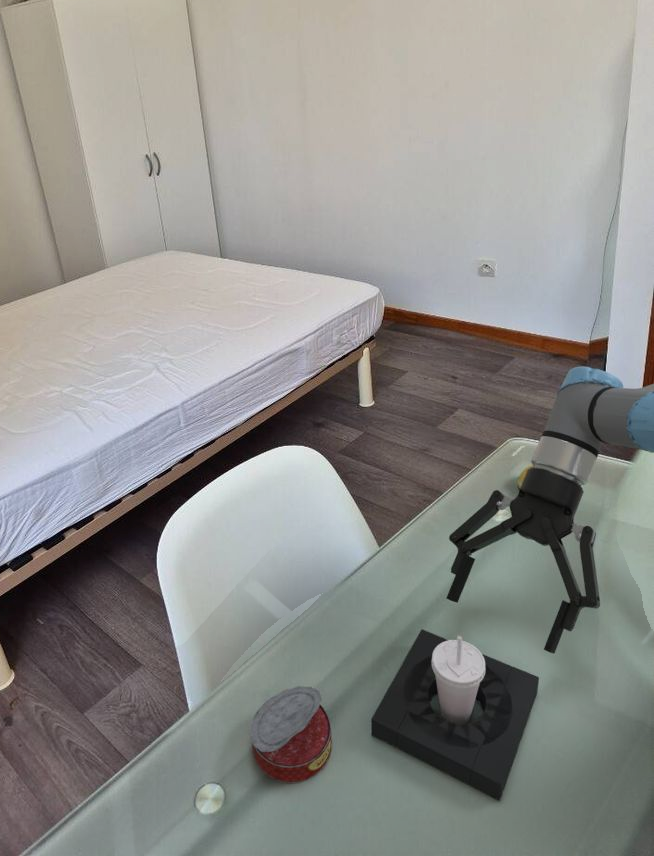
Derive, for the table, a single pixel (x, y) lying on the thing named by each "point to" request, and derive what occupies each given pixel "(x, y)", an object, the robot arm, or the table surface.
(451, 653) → the smoothie
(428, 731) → the socket pad
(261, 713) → the canned food
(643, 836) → the table surface
